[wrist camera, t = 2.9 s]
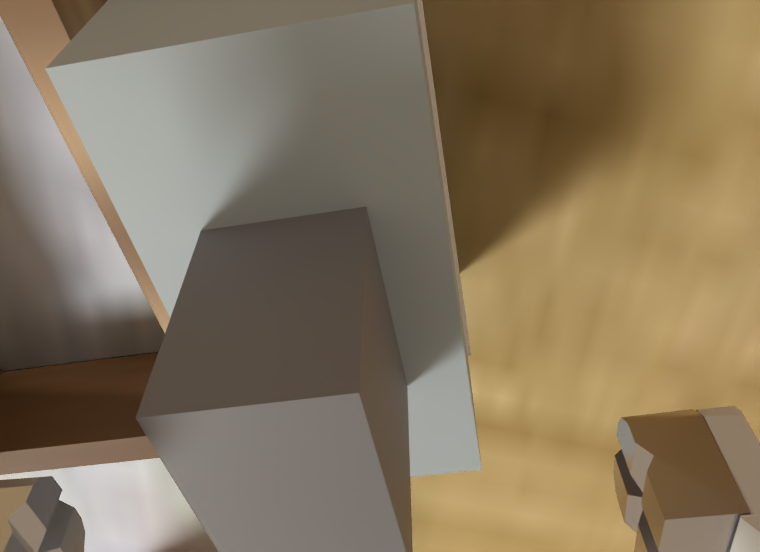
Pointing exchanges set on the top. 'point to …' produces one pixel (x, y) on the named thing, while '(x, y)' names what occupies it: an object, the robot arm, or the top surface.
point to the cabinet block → (285, 257)
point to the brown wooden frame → (83, 379)
